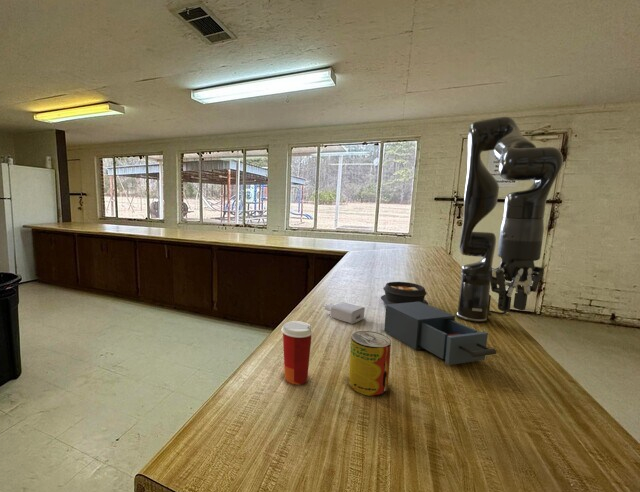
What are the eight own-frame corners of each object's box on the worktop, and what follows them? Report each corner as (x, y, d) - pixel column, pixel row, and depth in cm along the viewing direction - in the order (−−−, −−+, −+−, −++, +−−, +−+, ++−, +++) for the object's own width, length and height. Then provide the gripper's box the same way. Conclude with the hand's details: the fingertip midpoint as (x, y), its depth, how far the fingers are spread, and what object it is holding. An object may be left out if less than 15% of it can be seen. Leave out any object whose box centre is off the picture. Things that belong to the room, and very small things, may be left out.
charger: (330, 308, 133) (364, 318, 122) (317, 313, 127) (351, 324, 116) (331, 297, 133) (364, 306, 121) (317, 302, 127) (351, 312, 115)
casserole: (424, 317, 123) (426, 296, 122) (373, 308, 134) (375, 288, 132) (431, 301, 143) (432, 282, 142) (386, 294, 154) (388, 277, 153)
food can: (369, 400, 72) (372, 350, 70) (340, 380, 80) (342, 335, 78) (396, 389, 76) (399, 342, 74) (366, 371, 84) (369, 328, 82)
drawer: (502, 368, 84) (506, 340, 83) (464, 374, 81) (467, 345, 80) (444, 339, 102) (446, 316, 101) (411, 343, 99) (413, 319, 98)
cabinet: (452, 345, 100) (455, 315, 98) (415, 350, 96) (418, 319, 95) (417, 327, 114) (419, 301, 112) (384, 331, 110) (385, 304, 109)
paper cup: (313, 373, 83) (314, 322, 81) (309, 389, 76) (310, 334, 74) (284, 368, 86) (284, 318, 84) (277, 383, 79) (277, 329, 77)
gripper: (513, 240, 68) (504, 318, 70) (562, 239, 71) (552, 312, 73) (480, 237, 75) (472, 307, 77) (526, 235, 78) (517, 302, 81)
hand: (511, 309), depth 75 cm, fingers open, 4 cm apart
